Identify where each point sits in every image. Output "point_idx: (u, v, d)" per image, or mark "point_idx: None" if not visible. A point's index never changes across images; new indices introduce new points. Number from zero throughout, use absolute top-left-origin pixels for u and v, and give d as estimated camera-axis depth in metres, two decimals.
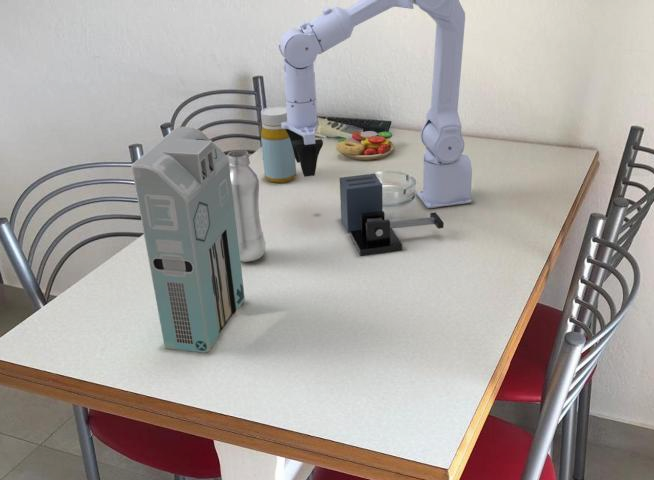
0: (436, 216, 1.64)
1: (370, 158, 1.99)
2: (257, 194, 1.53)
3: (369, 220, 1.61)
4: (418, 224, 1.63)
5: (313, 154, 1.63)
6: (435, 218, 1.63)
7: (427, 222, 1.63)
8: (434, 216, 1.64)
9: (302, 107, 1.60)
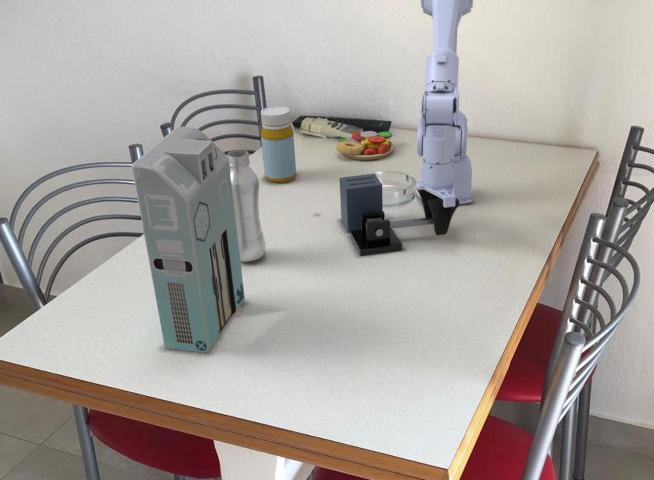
0: None
1: (370, 158, 1.99)
2: (257, 194, 1.53)
3: (369, 220, 1.61)
4: (418, 224, 1.63)
5: (447, 213, 1.60)
6: None
7: (427, 222, 1.63)
8: None
9: (441, 168, 1.55)
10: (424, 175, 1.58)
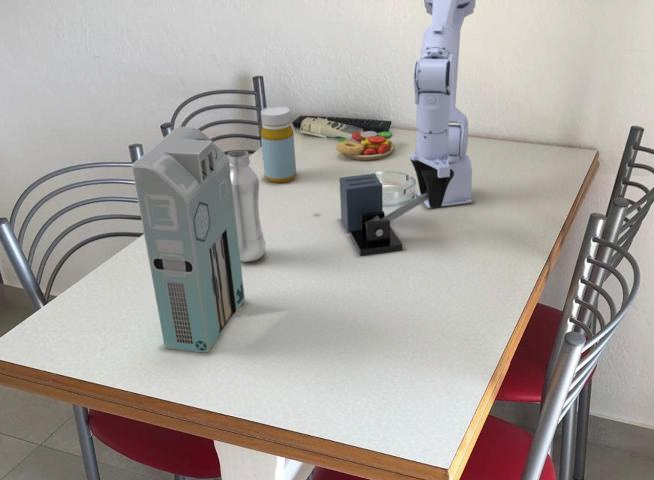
0: None
1: (370, 158, 1.99)
2: (257, 194, 1.53)
3: None
4: (415, 205, 1.61)
5: (442, 184, 1.56)
6: None
7: (422, 199, 1.60)
8: None
9: (435, 138, 1.52)
10: (418, 145, 1.54)
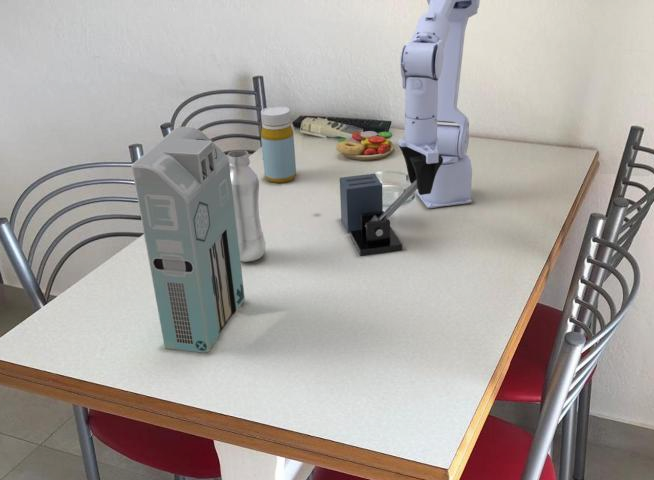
0: None
1: (370, 158, 1.99)
2: (257, 194, 1.53)
3: None
4: (408, 196, 1.59)
5: (431, 171, 1.54)
6: None
7: (414, 188, 1.59)
8: None
9: (424, 124, 1.50)
10: (406, 131, 1.52)
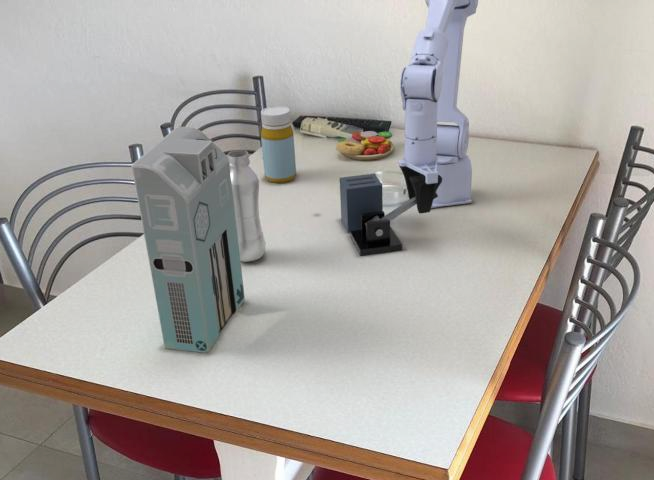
0: None
1: (370, 158, 1.99)
2: (257, 194, 1.53)
3: None
4: (414, 204, 1.60)
5: (430, 190, 1.56)
6: None
7: None
8: None
9: (423, 144, 1.52)
10: (406, 151, 1.54)
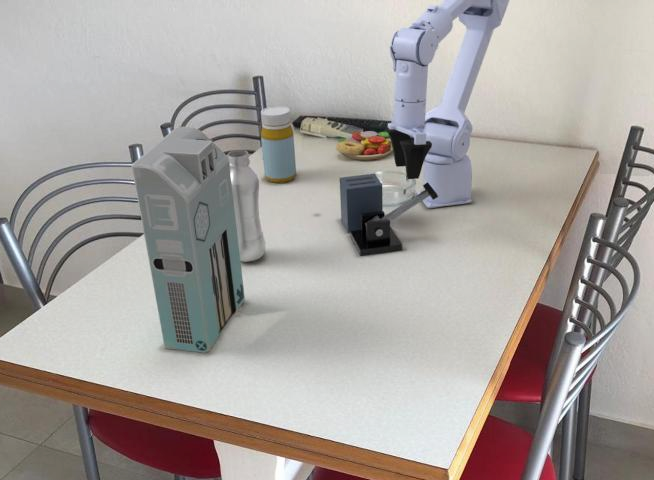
0: (428, 187, 1.60)
1: (370, 158, 1.99)
2: (257, 194, 1.53)
3: None
4: (414, 204, 1.60)
5: (420, 156, 1.59)
6: (427, 190, 1.60)
7: (422, 198, 1.60)
8: (426, 188, 1.60)
9: (413, 107, 1.56)
10: (396, 114, 1.58)
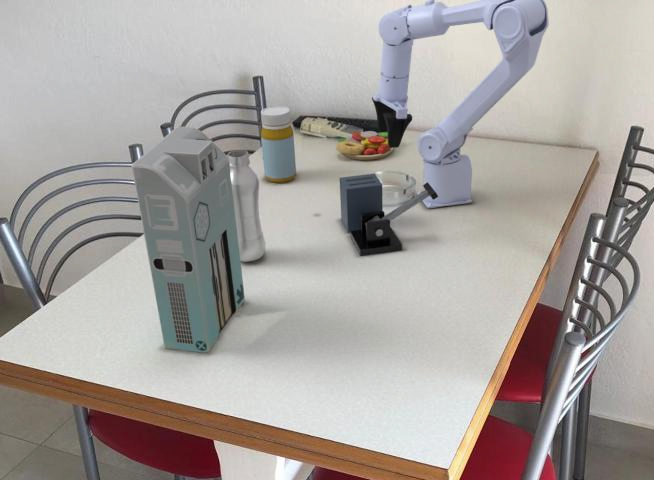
0: (428, 187, 1.60)
1: (370, 158, 1.99)
2: (257, 194, 1.53)
3: None
4: (414, 204, 1.60)
5: (401, 127, 1.74)
6: (427, 190, 1.60)
7: (422, 198, 1.60)
8: (426, 188, 1.60)
9: (397, 82, 1.69)
10: (381, 87, 1.72)
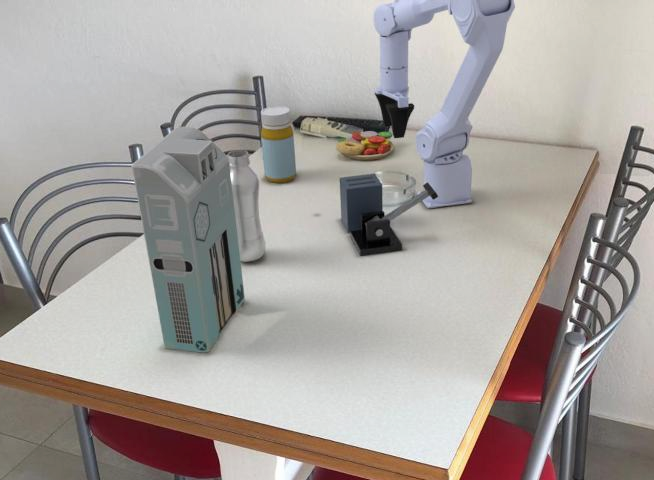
0: (428, 187, 1.60)
1: (370, 158, 1.99)
2: (257, 194, 1.53)
3: None
4: (414, 204, 1.60)
5: (404, 117, 1.78)
6: (427, 190, 1.60)
7: (422, 198, 1.60)
8: (426, 188, 1.60)
9: (396, 73, 1.74)
10: (381, 80, 1.77)
